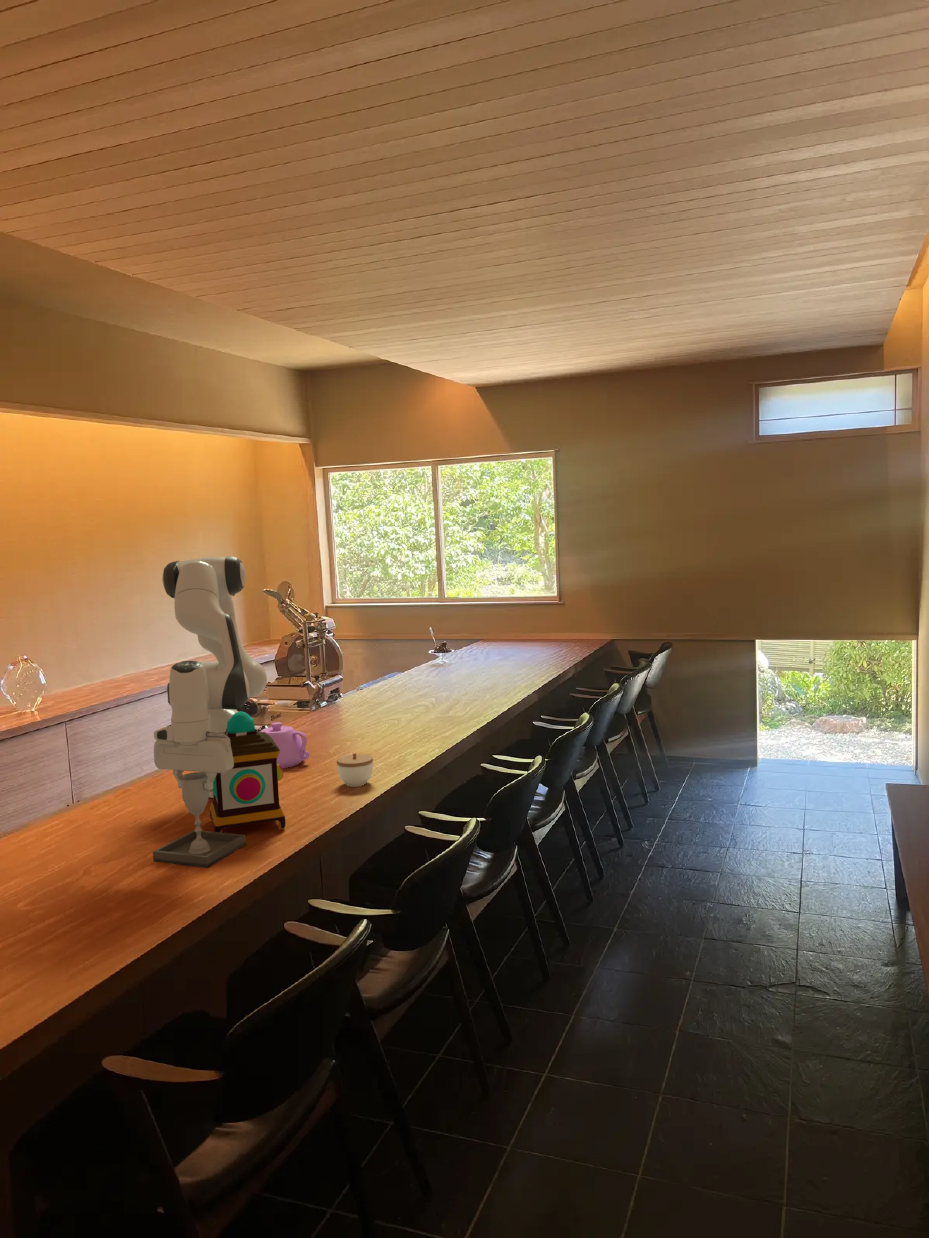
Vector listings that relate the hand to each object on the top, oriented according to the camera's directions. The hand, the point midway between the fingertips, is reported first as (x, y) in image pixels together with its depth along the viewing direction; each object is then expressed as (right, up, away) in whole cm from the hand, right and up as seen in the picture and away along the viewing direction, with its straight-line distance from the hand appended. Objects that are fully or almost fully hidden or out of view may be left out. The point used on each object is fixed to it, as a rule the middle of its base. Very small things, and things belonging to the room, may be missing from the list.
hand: (195, 788), depth 203 cm
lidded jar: (+31, -10, +55) cm, 63 cm away
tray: (+1, -16, +2) cm, 16 cm away
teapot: (+1, -8, +83) cm, 83 cm away
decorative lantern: (+7, -14, +21) cm, 26 cm away
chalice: (+1, -15, +1) cm, 15 cm away
